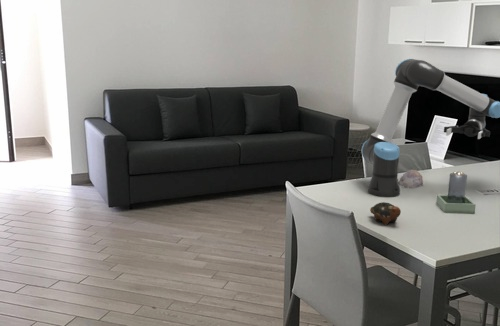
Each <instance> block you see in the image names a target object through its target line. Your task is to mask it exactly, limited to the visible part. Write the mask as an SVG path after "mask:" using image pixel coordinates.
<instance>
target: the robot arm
mask: <svg viewBox="0 0 500 326" xmlns="http://www.w3.org/2000/svg"><path fill="white" fill-rule="evenodd" d="M397 64H398V65H397V66H396V68H395V70H394V71H395V74H394V75H395V79H394V81H393V85H394V88H393V91H392V94H391V96H390V98H389V100H388V103H387V105H386V107H385V110H384V112H383V114H382V116H381V118H380V121H379V123H378V126H377V128H376V130H375V131H374V132H373V133H371V134H370V136H369V138H368V139H367V140H365V141H364V142H363V144H362V146H361V155H362V158H363V159H364V160H365V161H366V162H367V163H369V164H371V166H372V173H371V178H370V180H369V183H368V185H367V189H366V190H367V191H366V192H367V193H368V194H370V195H372V196H376V197H384V198H391V197H393V198H394V197H398V196H399V195H400V194H401V188H400V187H401V186H400V185H399V179H398V173H399V162H400V154H401V153H400V147H399V146H398V145H397V144H395V143H394V142H393V136H394V135H395V133H396V130H397V128H398V126H399V123H400V122H401V119H402V116H403V114H404V112H405V110H406V108H407V106H408V104H409V101H410V98H411V97H412V94H414V93H416V92H417V91H418V88H419V87H424V88H426V89H429V90H431V91H438V92H441V93H442V94H444V95H446V96H448V97H450V98H452V99H454V100H456V101H458V102H460V103H462V104H464V105H466V106H468V107H469V114H468V120H467V121H466V122H465V123H463V125H460V126H459V125H457V124H456V125H449V126H444V127H443V133H445V134H446V135H445V136H447V137H448V136H450V135H451V134H454V133H457V134H464V135H465V136H466V137H475V136H477V140H480V139H481V138H485V137H487V138H490V135H491V131H490V130H488V129H486V125H487V124H486V116H487V117H491V118H492V119H494V118H495V119H498V118H500V101H499V100H494V99H493V98H491V97H489V96H488V94H485V93H480V92H479V91H478V90H475V89H473V88H471V87H469V86H467V85H465V84H463V83H461V82H459V81H458V80H456V79H453V78H451V77H449V76H448V75H446V73H445V71H443V70H442V69H440V68H438V67H436V66H434V65H433V64H431V63H430V62H427V61H425V60H423V59H416V58H415V59H414V58H409V59H404V60H402V61H400V62H399V63H397Z"/></svg>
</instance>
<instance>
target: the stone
mask: <svg viewBox="0 0 500 326" xmlns="http://www.w3.org/2000/svg"><path fill="white" fill-rule="evenodd" d="M398 183H399V186H400V187H401V186H402V187H403V188H407V189H415V188H419V187H421V186H423V185H424V181H423V175H422V174H421V173H420V172H419V171H418V170H416V169H408V170H407V171H406V172H405V173H403V175H402V176H401V177H400V178H399V180H398Z"/></svg>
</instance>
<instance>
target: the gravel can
mask: <svg viewBox="0 0 500 326" xmlns="http://www.w3.org/2000/svg"><path fill="white" fill-rule="evenodd" d="M467 181H468V174H465V172H463V171H460V170H459V171H457V172H456V171H453V172H451V173H449V179H448V191H447V195H448V198H447V203H461V204H464V201H465V196H466V190H467Z"/></svg>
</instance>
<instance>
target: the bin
mask: <svg viewBox="0 0 500 326" xmlns="http://www.w3.org/2000/svg"><path fill="white" fill-rule="evenodd" d="M447 198H448V194H437V195H436V202H435V204H436V206H437V207H439V209H441V211H442V212H443V213H445V214H446V213H447V214H448V213H450V214H473V215H474V214H475V213H476V212H475V211H476V203H475V202H474V201H473V200H472V199H470V198H469V197H468V196H467V195H465V201H464V204H461V203H447Z"/></svg>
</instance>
